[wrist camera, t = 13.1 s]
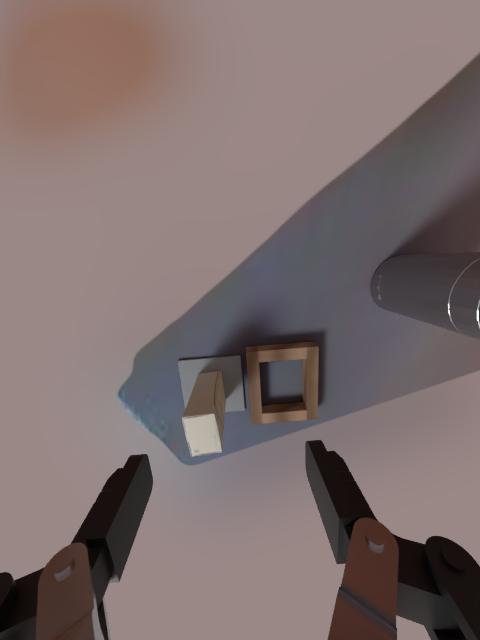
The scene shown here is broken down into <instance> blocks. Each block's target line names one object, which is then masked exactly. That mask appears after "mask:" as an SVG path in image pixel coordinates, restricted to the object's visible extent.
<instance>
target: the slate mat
mask: <svg viewBox="0 0 480 640" xmlns="http://www.w3.org/2000/svg"><path fill="white" fill-rule="evenodd" d="M178 366H179V373H180V379H181V385H182V392H183V398H184V405H185V409H186V406H187V404H188V401H189V398H190V395H191V393H192V390H193V387H194V384H195V382H196V379H197V376H198V374H201V373H208V372H216V371H221V374H222V379H223V384H224V390H225V397H226V407H225V412H231V411H243V410H245V407H244V394H243V382H242V369H241V357H240V355H236V356H223V357H211V358H199V359H186V360H178Z"/></svg>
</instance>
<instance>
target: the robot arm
mask: <svg viewBox="0 0 480 640" xmlns="http://www.w3.org/2000/svg"><path fill="white" fill-rule="evenodd" d="M371 293H372V297H373V299H374V301H375V302H376V303H377V304H378V305H379V306H380V307H382V308H383V309H386V310H389V311H392V312H395V313H398V314H401V315H404V316H407V317H410V318H413V319H416V320H419V321H423V322H426V323H429V324H432V325H435V326H438V327H441V328H444V329H447V330H451V331H454V332H457V333H460V334H463V335H466V336H470V337H473V338H476V339H479V340H480V252H470V253H441V254H410V255H397V256H394V257H391V258H389V259H387V260H386V261H385V262H383V263H382V264H381V265H380V266H379V267H378V269H377V270H376V272H375V274H374V276H373V278H372V282H371ZM305 448H306V473H307V477H308V481H309V483H310V486H311V489H312V492H313V495H314V498H315V501H316V504H317V507H318V510H319V513H320V516H321V519H322V522H323V524H324V527H325V530H326V533H327V536H328V539H329V542H330V545H331V548H332V551H333V554H334V557H335V559H336V563H337V564H344V563H345V564H346V565H345V570H344V575H343V579H342V584H341V587H339V590H338V594H337V598H336V603H335V608H334V613H333V617H332V622H331V627H330V631H329V636H328V640H397V628H396V615H398V616H400V617H403V618H406V619H408V620H411V621H414V622H416V623H419V624H422V625H424V626H425V628H426V630H427V632H428V634H429V636H430V638H431V640H480V566H479V565H478V564H477V562H476V561H475V560H474V559H473V557H472V556H471V555H470V554H469V553H468V552H467V551H466V550H464V549H463V548H462V547H461V546H459V545H458V544H457V543H455V542H453V541H451V540H449V539H447V538H444V537H441V536H432V537H430V538H428V539H427V541H426V544H421V543H417V542H414V541H410V540H406V539H403V538H400V537H398V536H396V535H394V534H392V533H391V532H390V531H389V530H388V529H387V528H386V527H385V526H384V525H383V524H381V523H380V522H379V521H378V520H377V519H376V517H375V516H374V514H373V512H372V510H371V509H370V507H369V505H368V503H367V501H366V500H365V498H364V496H363V494H362V492H361V490H360V489H359V487H358V485H357V483H356V481H354V478H353V476H352V474H351V472H349V469H348V467H347V465H346V463H345V462H344V460H343V459H342V458H341V457H340V456H339V455H338V454H337V453H336V452H335V451H327V450H326V448H325V446H324V444H323V442H322V441H321V440H314V441H306V445H305ZM152 485H153V477H152V472H151V468H150V463H149V459H148V455H147V454H141V455H131V456H130V457H129V458H128V460H127V462H126V464H125V466H124V467H123V468H119V469H117V470H116V471H115V472H114V473H113V474H112V475H111V476H110V478H109V479H108V480H107V482H106V483H105V485H104V487H103V489H102V492H101V493H100V494H99V496H98V497H97V499H96V502H95V503H94V504H93V506H92V508H91V510H90V511H89V513H88V515H87V517H86V518H85V520H84V522H83V524H82V525H81V527H80V529H79V530H78V532H77V534H76V536H75V537H74V539H73V541H72V542H71V544H70V545H68V546H66V547H64V548H63V549H62V550H60V551H59V552H58V553H57V554H55V555H54V556H53V558H52V559H51V560H50V561H49V562H48V563H47V565H46V566H45V567H44V568H42V569H40V570H38V571H36V572H33V573H31V574H29V575H27V576H24V577H22V578H20V579H17V580H15V581H14V579H13V577H12V576H11V574H10V573H7V572H3V573H0V640H111V638H110V632H109V625H108V619H107V612H106V606H105V600H104V594H105V591H106V589H107V586H108V584H109V583H113V582H119V581H120V579H121V576H122V573H123V570H124V567H125V564H126V562H127V559H128V556H129V553H130V550H131V548H132V545H133V542H134V539H135V536H136V533H137V531H138V528H139V525H140V522H141V519H142V517H143V514H144V511H145V508H146V505H147V503H148V500H149V497H150V494H151V491H152Z"/></svg>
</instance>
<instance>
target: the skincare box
mask: <svg viewBox="0 0 480 640" xmlns="http://www.w3.org/2000/svg"><path fill="white" fill-rule="evenodd" d="M225 407H226V397H225V390H224V384H223V379H222V374H221V371H216V372H208V373H201V374H198V376H197V379H196V382H195V384H194V387H193V390H192V393H191V395H190V398H189V401H188V404H187V406H186V409H185V412H184V415H183V417H182V422H183V426H184V431H185V435H186V439H187V443H188V446H189V450H190V454H191V456H199V455H207V454H213V453H220V452H222V441H223V429H224V418H225Z"/></svg>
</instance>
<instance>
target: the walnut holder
mask: <svg viewBox="0 0 480 640" xmlns="http://www.w3.org/2000/svg"><path fill="white" fill-rule="evenodd" d="M245 348H246V361H247V375H248V389H249V402H250V416H251V424H263V423H275V422H287V421H299V420H311V419H318V359H319V346H318V345H317V344H316V343H315V342H314V341H310V342H298V343H286V344H273V345H261V346H248V347H245ZM295 359H302V393H303V402H295V403H283V404H271V405H261V389H260V372H259V362H271V361H283V360H295Z"/></svg>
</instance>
